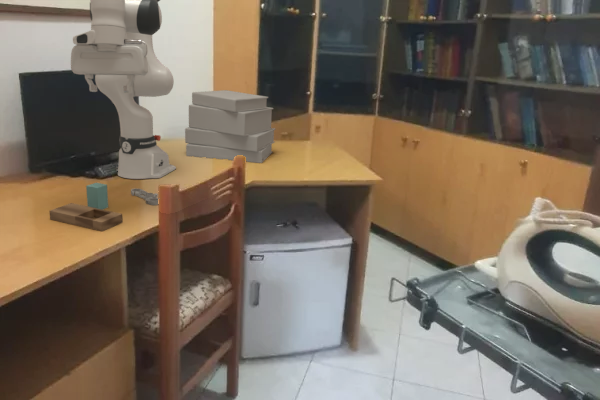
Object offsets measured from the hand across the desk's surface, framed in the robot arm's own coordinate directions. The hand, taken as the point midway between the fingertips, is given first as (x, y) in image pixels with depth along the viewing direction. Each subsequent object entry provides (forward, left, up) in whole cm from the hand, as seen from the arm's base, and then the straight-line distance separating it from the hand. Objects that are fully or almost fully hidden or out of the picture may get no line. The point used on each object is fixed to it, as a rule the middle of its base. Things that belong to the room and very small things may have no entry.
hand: (110, 92), depth 147 cm
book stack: (-84, -10, -35) cm, 92 cm away
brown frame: (+10, -2, -34) cm, 36 cm away
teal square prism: (0, -7, -34) cm, 35 cm away
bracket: (-15, -1, -35) cm, 38 cm away
